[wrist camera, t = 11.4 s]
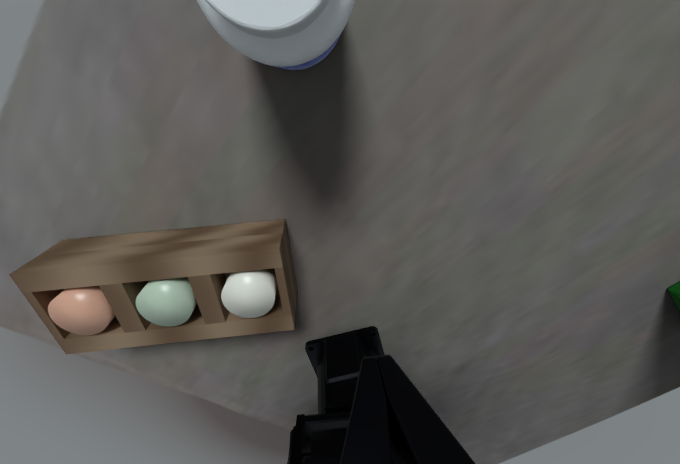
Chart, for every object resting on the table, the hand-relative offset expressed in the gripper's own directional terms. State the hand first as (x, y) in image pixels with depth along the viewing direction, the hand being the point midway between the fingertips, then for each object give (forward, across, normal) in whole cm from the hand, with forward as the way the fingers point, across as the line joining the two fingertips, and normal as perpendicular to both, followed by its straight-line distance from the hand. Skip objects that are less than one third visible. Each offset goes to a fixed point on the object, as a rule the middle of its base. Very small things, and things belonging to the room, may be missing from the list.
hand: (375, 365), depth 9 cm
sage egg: (+11, +11, +4) cm, 16 cm away
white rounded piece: (+11, +6, +4) cm, 13 cm away
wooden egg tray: (+13, +12, +4) cm, 18 cm away
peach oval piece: (+11, +17, +4) cm, 20 cm away
